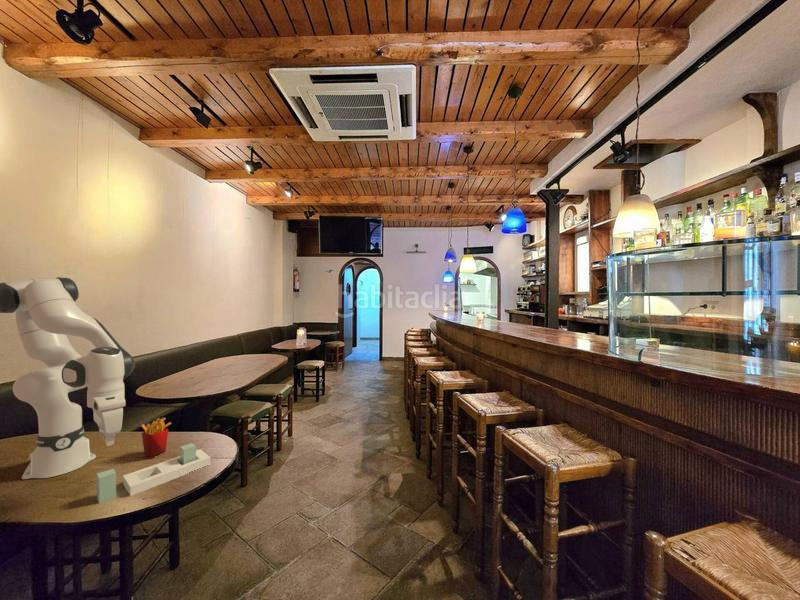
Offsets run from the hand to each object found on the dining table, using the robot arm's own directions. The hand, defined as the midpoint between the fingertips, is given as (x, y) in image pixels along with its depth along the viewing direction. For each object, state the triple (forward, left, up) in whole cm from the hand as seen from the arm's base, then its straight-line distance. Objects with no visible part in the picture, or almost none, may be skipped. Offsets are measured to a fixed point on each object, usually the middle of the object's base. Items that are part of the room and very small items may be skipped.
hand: (106, 440), depth 100 cm
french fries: (-20, +19, -19) cm, 34 cm away
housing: (0, +17, -19) cm, 25 cm away
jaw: (0, 0, -19) cm, 19 cm away
